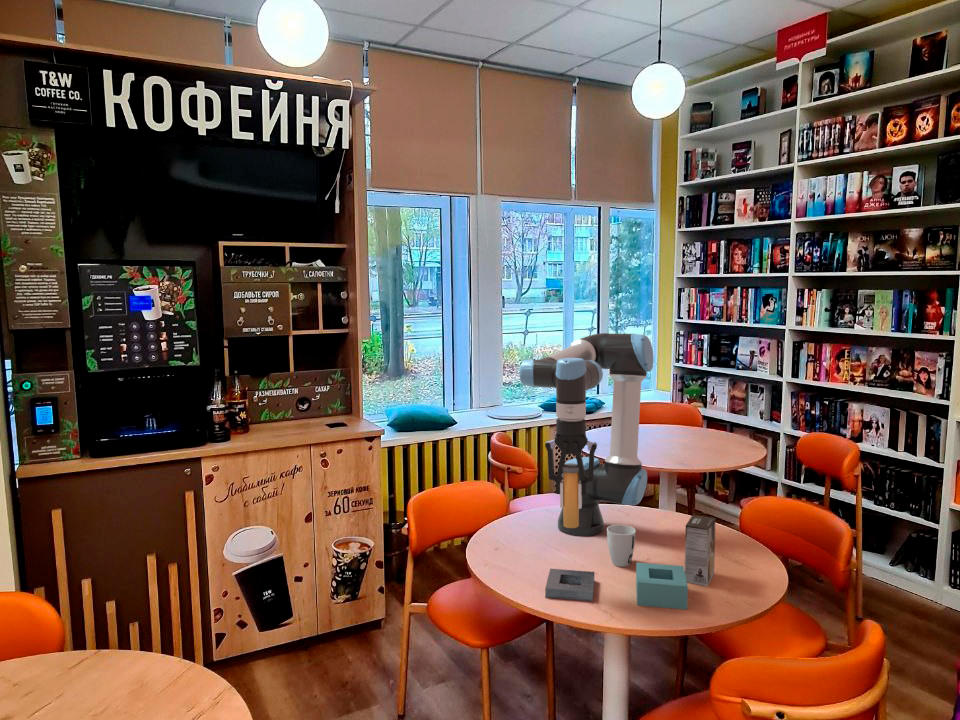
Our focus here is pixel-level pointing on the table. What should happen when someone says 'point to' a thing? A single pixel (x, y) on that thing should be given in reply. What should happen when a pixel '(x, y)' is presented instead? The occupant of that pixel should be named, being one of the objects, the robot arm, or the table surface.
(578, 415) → the robot arm
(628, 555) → the cup
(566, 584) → the mount
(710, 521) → the coffee box
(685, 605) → the socket
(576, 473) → the pin
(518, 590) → the table surface
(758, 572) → the table surface
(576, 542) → the table surface
